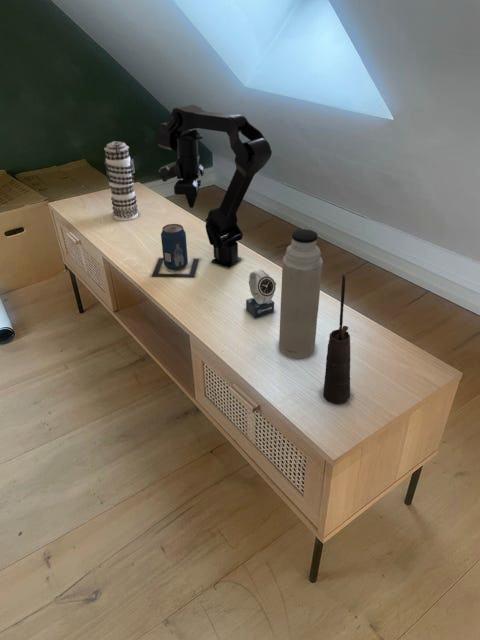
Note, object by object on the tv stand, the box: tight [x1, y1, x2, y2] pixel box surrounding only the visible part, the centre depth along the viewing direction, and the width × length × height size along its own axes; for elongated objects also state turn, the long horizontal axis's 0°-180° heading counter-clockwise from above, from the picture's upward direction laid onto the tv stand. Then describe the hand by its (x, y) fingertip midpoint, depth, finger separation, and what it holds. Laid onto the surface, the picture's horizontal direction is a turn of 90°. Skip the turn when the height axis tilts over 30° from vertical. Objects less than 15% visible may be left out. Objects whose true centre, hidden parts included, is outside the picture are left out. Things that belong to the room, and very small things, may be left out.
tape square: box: [151, 257, 200, 278], centre depth 145 cm, size 11×12×1 cm
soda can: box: [160, 223, 189, 272], centre depth 142 cm, size 7×7×12 cm
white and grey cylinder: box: [103, 140, 139, 221], centre depth 170 cm, size 9×9×25 cm
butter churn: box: [322, 274, 351, 405], centre depth 93 cm, size 9×10×28 cm
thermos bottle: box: [278, 228, 324, 360], centre depth 105 cm, size 8×8×28 cm
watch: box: [245, 269, 277, 319], centre depth 122 cm, size 6×8×11 cm
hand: (191, 207), depth 148 cm, fingers closed
